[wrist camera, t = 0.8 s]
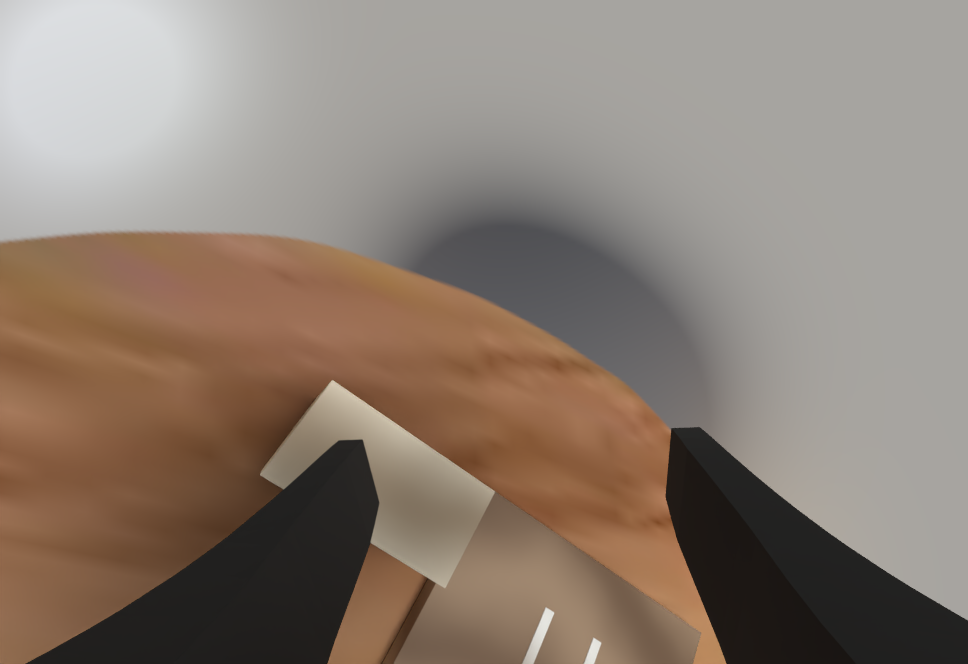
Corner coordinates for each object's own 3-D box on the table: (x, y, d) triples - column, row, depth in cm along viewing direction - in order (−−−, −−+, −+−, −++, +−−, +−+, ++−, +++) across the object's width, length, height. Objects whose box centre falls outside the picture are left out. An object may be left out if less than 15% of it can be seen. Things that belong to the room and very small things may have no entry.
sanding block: (399, 552, 24) (445, 588, 18) (262, 468, 22) (259, 474, 16) (440, 481, 25) (495, 491, 19) (315, 398, 24) (332, 380, 18)
